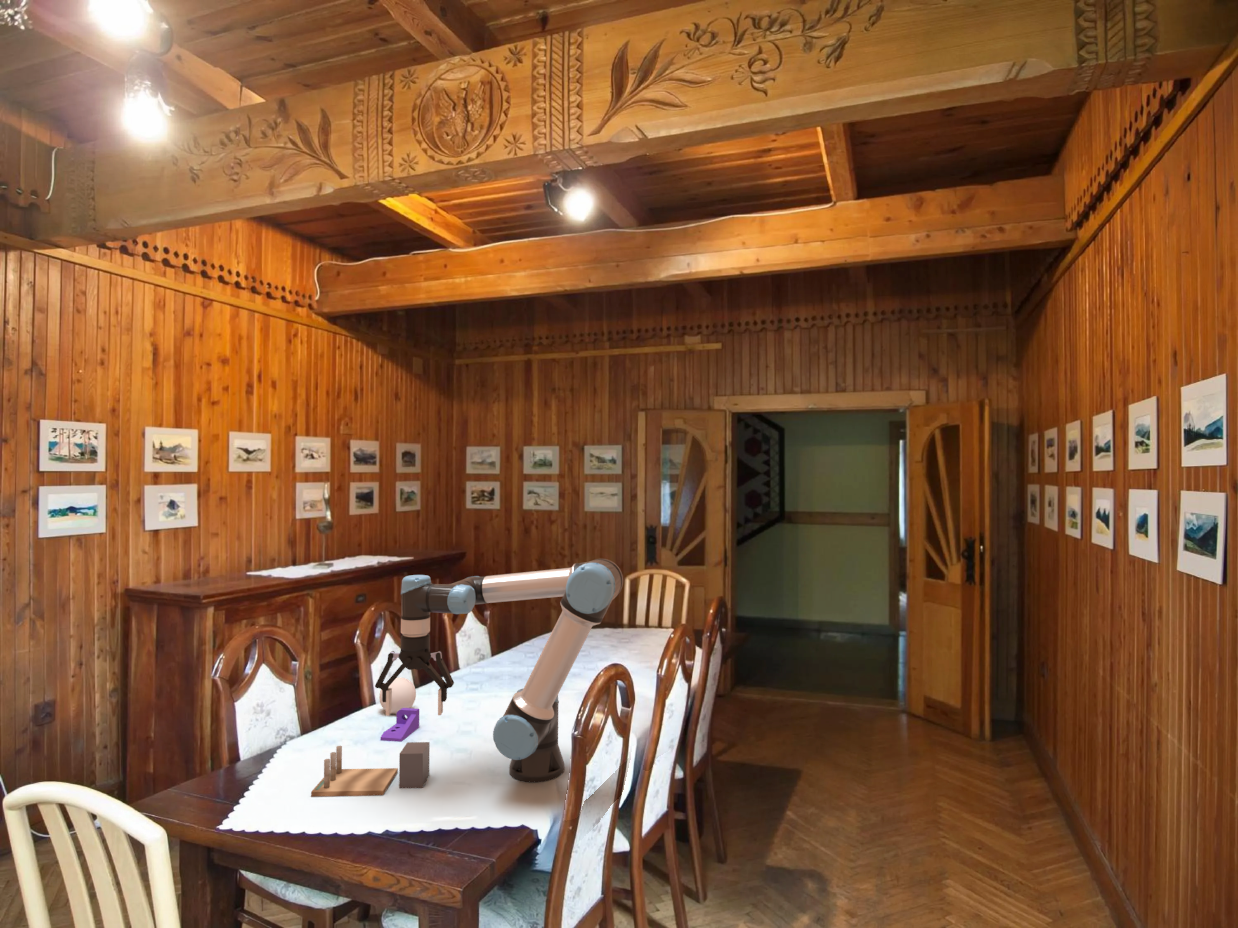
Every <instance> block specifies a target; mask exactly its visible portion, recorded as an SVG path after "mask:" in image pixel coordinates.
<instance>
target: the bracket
mask: <svg viewBox="0 0 1238 928" xmlns="http://www.w3.org/2000/svg"><path fill="white" fill-rule="evenodd" d="M395 715H396V719H395V720H396V721H395V722H396V723H394V724H393V725H392V726H391V727H389V728H388V729H386V730H385V731H384V732H383V733H382V734H381V736H380V741H383V742H396V743H398V742H399V743H401V742H403V741H404V740H405V739H406V738H408V737H409V736H411V735H412V734H414V732H415V731H417V730H418V729H419V728H420V708H412V707H411V708H402V709H400V710H399V711H398V712H397V714H395Z"/></svg>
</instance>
